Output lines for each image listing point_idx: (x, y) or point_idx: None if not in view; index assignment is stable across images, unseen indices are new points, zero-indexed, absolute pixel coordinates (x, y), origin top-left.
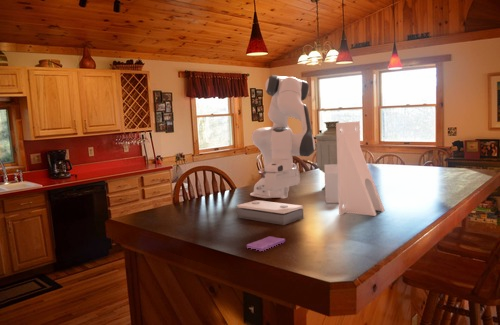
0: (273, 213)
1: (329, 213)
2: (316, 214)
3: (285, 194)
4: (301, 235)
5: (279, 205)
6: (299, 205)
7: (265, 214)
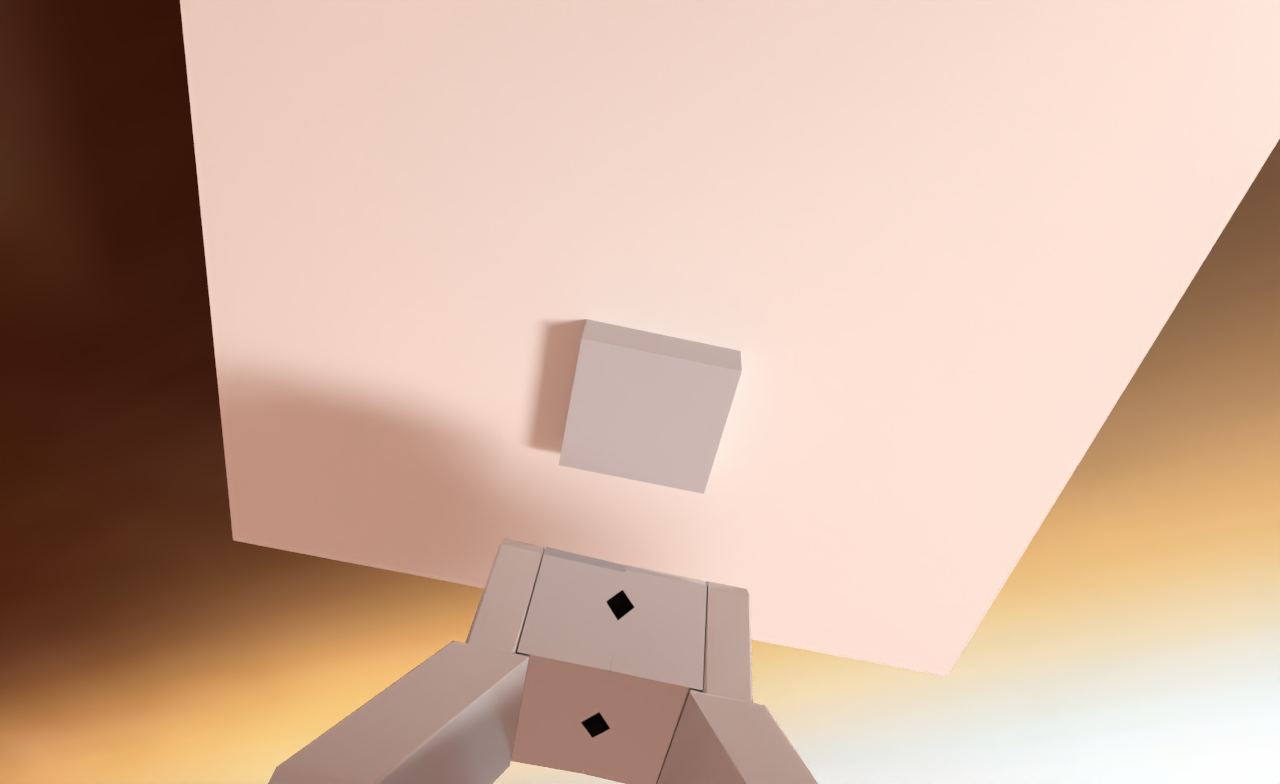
0: None
1: (1245, 734)
2: (1173, 608)
3: (576, 755)
4: (102, 678)
5: (855, 188)
6: (959, 618)
7: None
